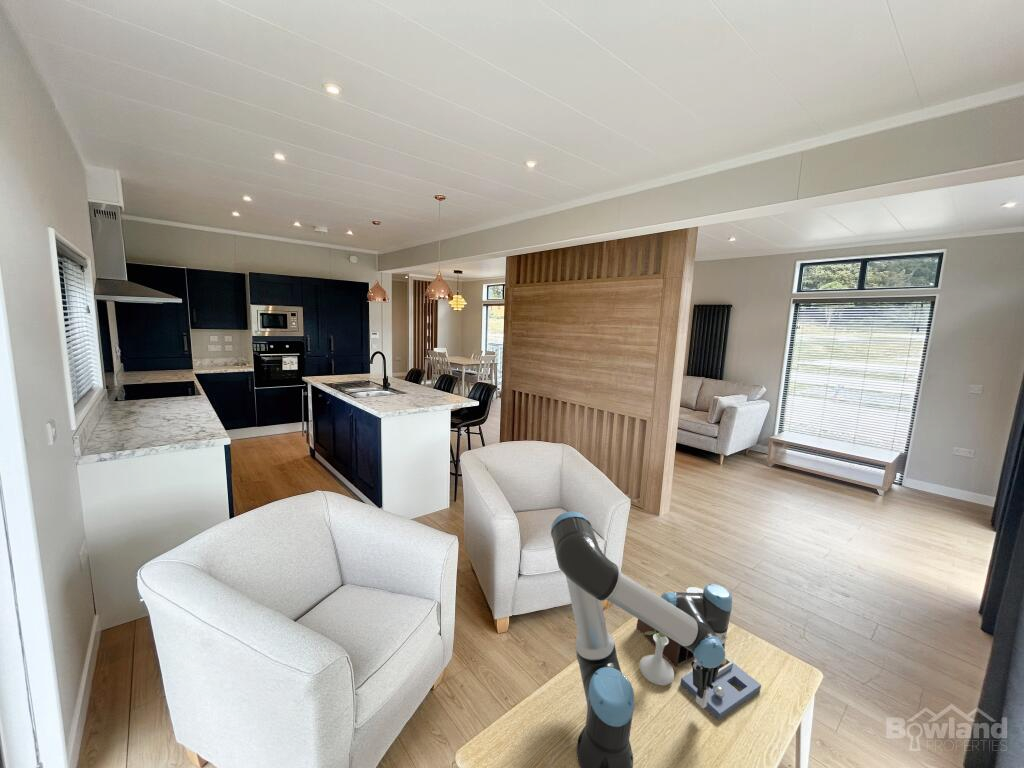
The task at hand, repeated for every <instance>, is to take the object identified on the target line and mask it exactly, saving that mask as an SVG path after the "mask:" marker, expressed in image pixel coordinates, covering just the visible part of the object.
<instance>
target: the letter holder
mask: <svg viewBox="0 0 1024 768" xmlns="http://www.w3.org/2000/svg"><path fill="white" fill-rule="evenodd" d="M636 622H637V623H636V629H637V630H638V632H640V633H641V634H642V635H643V634H644V633H645V632H648V631H652V632H655V630H656V629H654V628H653V627H651V626H649V625H648V624H646V623H644V622H643V621H641V620H639V619H638V618H637V621H636ZM656 633H659V631H657V630H656ZM656 633H654V634H656ZM654 634H652V635H647V634H644V635H643V636H644V637H645V638H646V639H647V640H648V641H649V642H650V643H651V644H652V645H653V646H654V648H656V643H655V641H654V639H653V635H654ZM666 637H667V636H666ZM667 638H668V640H669V643H668V644H667V645H665V647H664V649H663V653H662V656H664V657H665V658H666V659H667V660H668V662H669V663H671V664H672V665H674V667H675V668H677V667H679V666H681V665H683V664H686V663H688V662H691V661H693V660H694V659H695V657H694V655H693V653H692V652H691V651H690V650H688V649H687V648H685V647H684V646H682V645H681V644H679V643H677V642H676V641H674V640H672V639H671V638H669V637H667Z"/></svg>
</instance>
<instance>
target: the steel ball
mask: <svg viewBox="0 0 1024 768" xmlns="http://www.w3.org/2000/svg"><path fill="white" fill-rule="evenodd" d="M713 692H714V694H715V696H716V697H718V698H723V697H724V690H723V688H722V687H720V686H715V687H714V689H713Z"/></svg>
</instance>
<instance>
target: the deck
mask: <svg viewBox="0 0 1024 768" xmlns="http://www.w3.org/2000/svg"><path fill="white" fill-rule="evenodd" d="M725 658H726V661H727V663H726V665H725V666H723V667H721V666H720V667H719V671H718V674H717V677H716V680H715V682H714V683H713V682H712V685H713V686H714V687H715V686H720V687H722V688H723V690H724V697H723V698H718V697H716V696H715V694H714V692H713V689H714V687H713V689H711V688H710V687H709V693H708V700H707V706H706V707H705V709H706V710H707V711H708V712H709V713H710V714H711V715H712V716H713V717H714V718H715V719H716V720H718V721H720V720H722V719H723V718H724V717H726V716H727V715H729V714H730V713H731V712H733V711H734V710H736V709H737V708H738V707H740V706H742V705H743V704H744V703H745V702H747V701H748V700H750V699H751V698H753V697H754V696H755V695H757V694H758V693H759V692H760V691H761V688H762V684H761V683H760V682H758V681H757V680H756V679H755V678H753V677H752V676H751V675H749V674H748V672H746V671H744V670H743V669H742V668H741V667H740V666H738V665H737V664H735V662H733V661H732V660H731V659H729V658H728V657H727V656H726V655H725ZM679 683H680V685H681V686H682V687H683V688H684V689H685V690H686V691H687V692H688V694H690V695H691V696H692V697H693V698H695V700H696V695H697V688H696V687H695V686H694V685H693V670H692V671H690V672H689V673H686V674H685V675H684V676H681V678H680V682H679ZM733 683H734V684H735V685H737V686H738V688H740V689H741V690H740V691H739V690H738V689H736V688H735V687H734V686H733V685H732V684H733Z"/></svg>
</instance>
